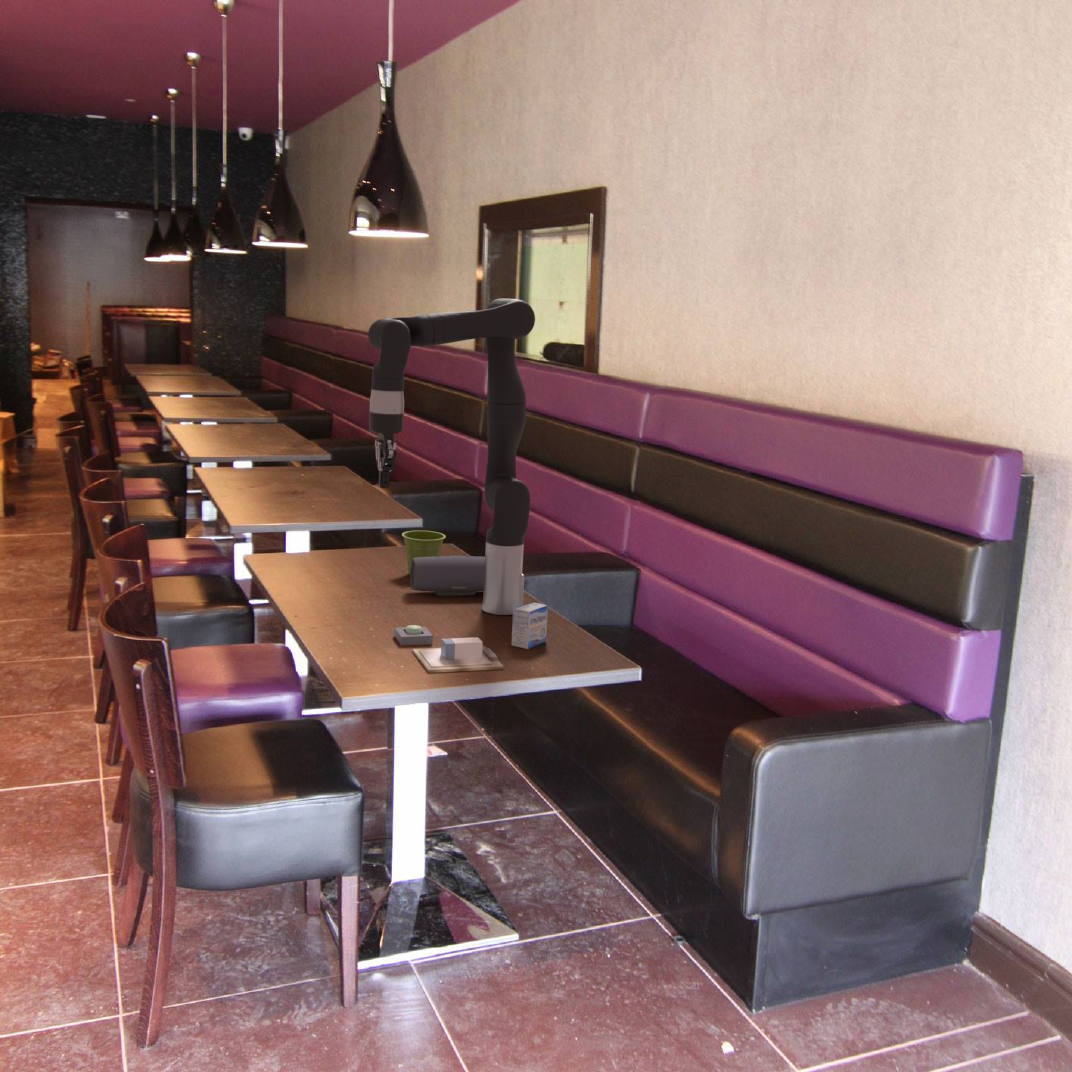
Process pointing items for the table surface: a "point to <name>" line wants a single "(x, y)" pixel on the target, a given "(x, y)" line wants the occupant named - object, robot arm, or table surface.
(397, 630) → the button housing
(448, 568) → the bluetooth speaker
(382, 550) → the table surface
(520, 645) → the medicine box
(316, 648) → the table surface
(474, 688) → the table surface
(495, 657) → the clipboard
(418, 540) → the plant pot
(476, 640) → the white carton blue base
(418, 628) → the button
